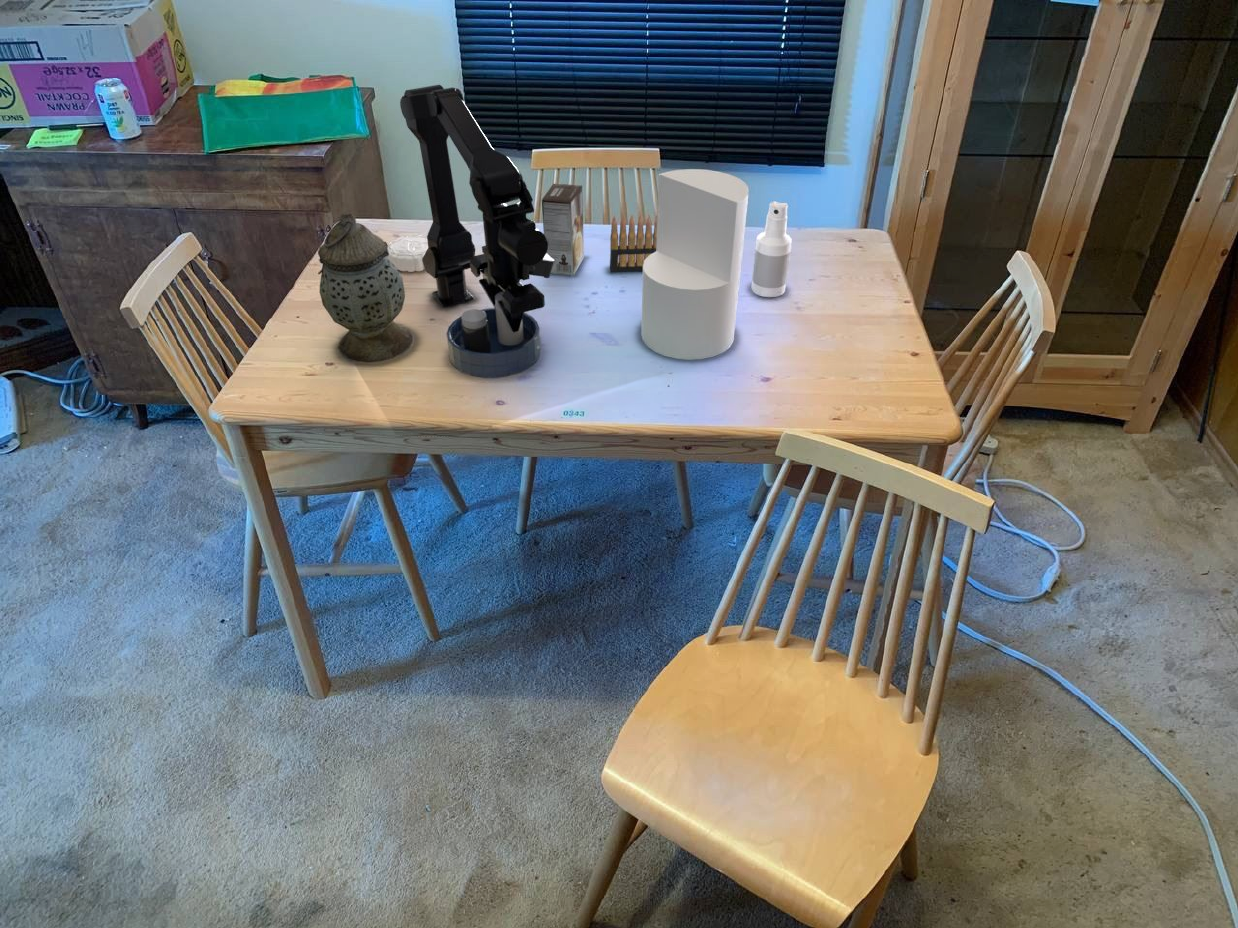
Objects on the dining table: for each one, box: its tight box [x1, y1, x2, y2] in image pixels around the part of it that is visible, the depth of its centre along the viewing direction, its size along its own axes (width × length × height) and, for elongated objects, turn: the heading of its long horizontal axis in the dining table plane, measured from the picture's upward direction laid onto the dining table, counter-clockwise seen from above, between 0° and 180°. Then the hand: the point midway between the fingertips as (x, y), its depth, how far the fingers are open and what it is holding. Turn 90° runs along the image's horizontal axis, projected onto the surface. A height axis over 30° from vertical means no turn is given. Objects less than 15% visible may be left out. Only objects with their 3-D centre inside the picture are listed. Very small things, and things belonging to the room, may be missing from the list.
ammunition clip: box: [609, 214, 657, 274], centre depth 175 cm, size 11×2×12 cm, turn 94°
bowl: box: [446, 307, 542, 378], centre depth 151 cm, size 16×16×5 cm
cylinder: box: [640, 168, 750, 361], centre depth 149 cm, size 17×17×28 cm
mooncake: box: [386, 234, 428, 273], centre depth 181 cm, size 12×12×4 cm
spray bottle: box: [750, 200, 793, 298], centre depth 166 cm, size 7×7×18 cm
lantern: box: [317, 211, 415, 363], centre depth 147 cm, size 14×14×25 cm
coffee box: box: [541, 183, 585, 276], centre depth 176 cm, size 9×6×16 cm
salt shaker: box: [495, 291, 524, 346], centre depth 150 cm, size 5×5×8 cm
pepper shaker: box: [460, 308, 491, 353], centre depth 149 cm, size 5×5×8 cm
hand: (510, 325), depth 151 cm, fingers closed on salt shaker, 4 cm apart
